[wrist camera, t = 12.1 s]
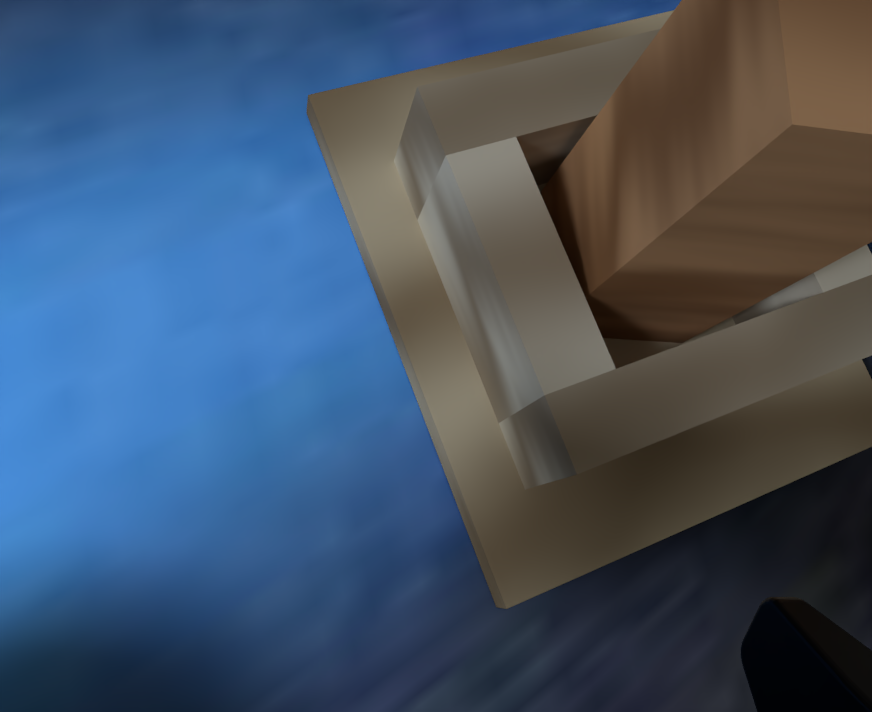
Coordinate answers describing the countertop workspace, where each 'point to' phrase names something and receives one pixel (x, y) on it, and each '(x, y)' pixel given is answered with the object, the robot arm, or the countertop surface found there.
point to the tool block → (571, 323)
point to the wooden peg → (721, 165)
